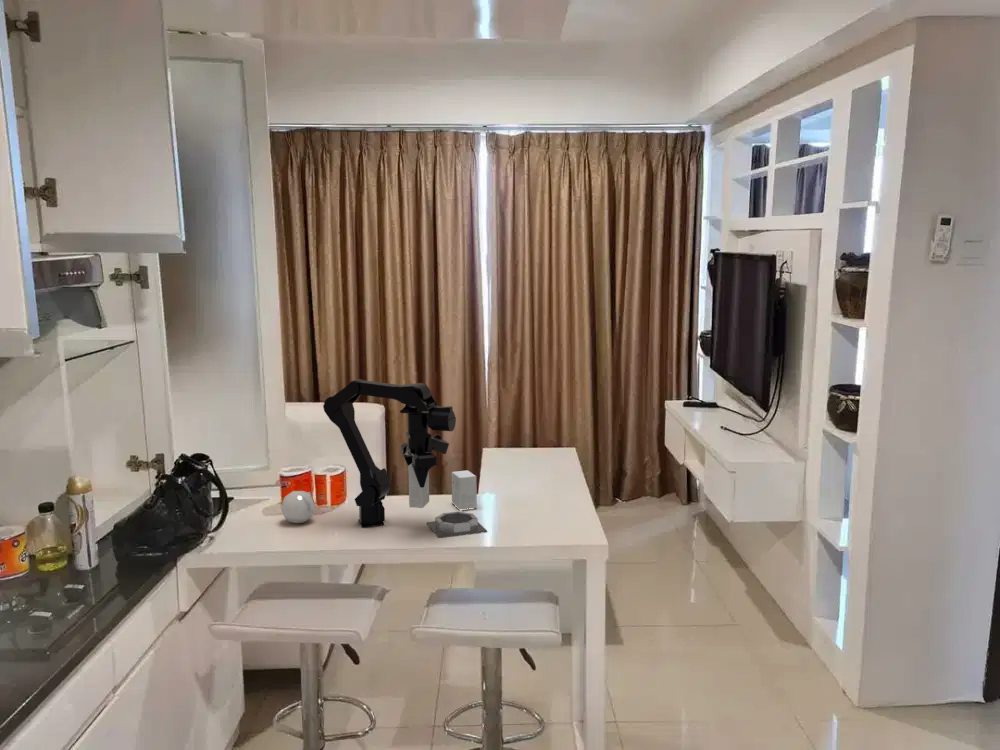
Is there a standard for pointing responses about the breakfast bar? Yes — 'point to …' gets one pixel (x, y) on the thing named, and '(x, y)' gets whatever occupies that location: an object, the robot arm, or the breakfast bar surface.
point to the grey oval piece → (298, 506)
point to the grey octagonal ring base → (455, 524)
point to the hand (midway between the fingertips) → (418, 483)
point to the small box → (464, 489)
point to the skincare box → (417, 490)
